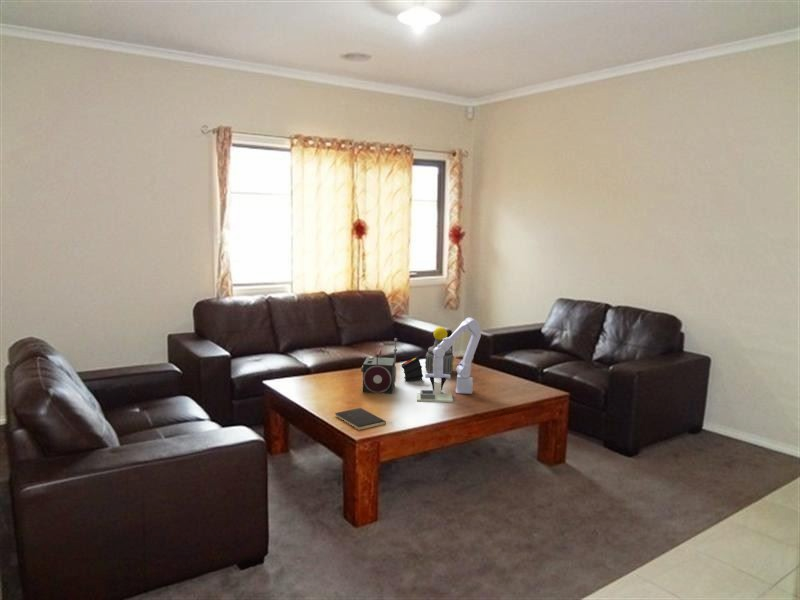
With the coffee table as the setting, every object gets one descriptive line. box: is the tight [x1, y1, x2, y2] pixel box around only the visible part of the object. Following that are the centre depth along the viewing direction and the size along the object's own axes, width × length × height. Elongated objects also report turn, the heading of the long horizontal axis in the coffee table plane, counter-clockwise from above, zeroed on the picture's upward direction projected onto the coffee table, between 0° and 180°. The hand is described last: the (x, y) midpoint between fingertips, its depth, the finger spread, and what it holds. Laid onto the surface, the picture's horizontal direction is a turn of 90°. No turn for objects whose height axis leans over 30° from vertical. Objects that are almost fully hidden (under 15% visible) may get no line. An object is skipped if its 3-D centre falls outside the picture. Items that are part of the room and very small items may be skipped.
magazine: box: [401, 356, 424, 383], centre depth 370 cm, size 4×13×15 cm, turn 110°
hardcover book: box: [335, 407, 387, 431], centre depth 300 cm, size 16×23×2 cm
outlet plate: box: [416, 389, 454, 403], centre depth 337 cm, size 20×12×4 cm, turn 89°
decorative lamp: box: [424, 326, 455, 375], centre depth 391 cm, size 19×19×30 cm
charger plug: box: [434, 381, 442, 394], centre depth 347 cm, size 4×4×6 cm
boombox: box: [360, 337, 398, 395], centre depth 350 cm, size 18×21×30 cm
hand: (437, 389), depth 348 cm, fingers closed on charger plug, 4 cm apart
